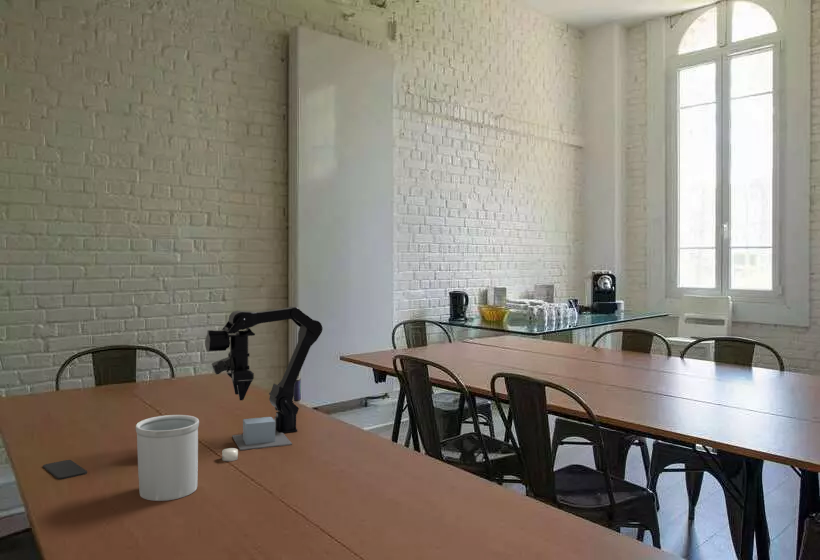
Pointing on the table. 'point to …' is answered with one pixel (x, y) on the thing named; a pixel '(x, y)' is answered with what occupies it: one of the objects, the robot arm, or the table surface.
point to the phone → (64, 469)
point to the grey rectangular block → (258, 430)
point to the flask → (297, 389)
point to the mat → (279, 441)
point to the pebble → (230, 454)
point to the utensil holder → (167, 456)
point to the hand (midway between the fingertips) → (239, 397)
